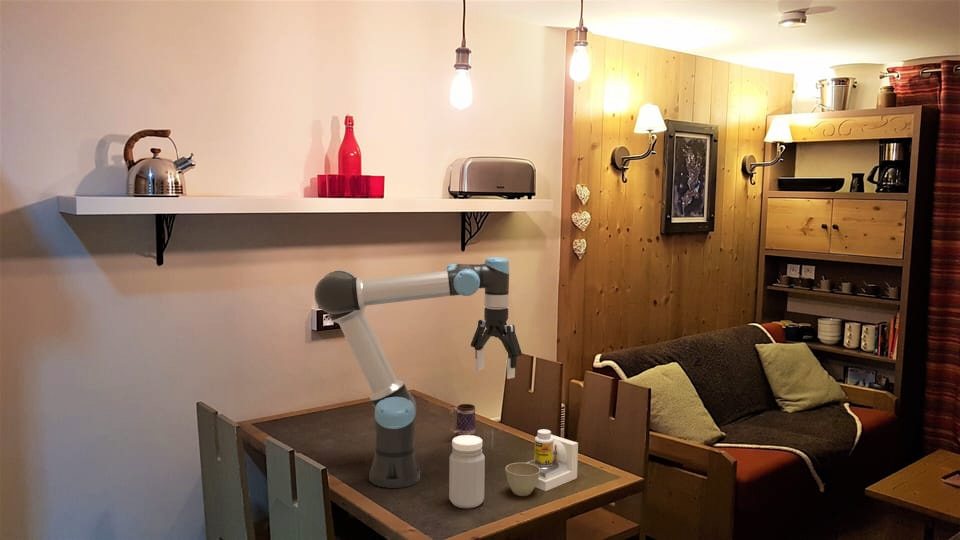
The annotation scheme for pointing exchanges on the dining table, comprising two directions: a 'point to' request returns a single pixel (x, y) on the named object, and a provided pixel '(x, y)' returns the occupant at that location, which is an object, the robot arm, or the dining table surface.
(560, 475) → the scale base
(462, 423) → the mug
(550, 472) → the pan
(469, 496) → the jar
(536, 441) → the supplement bottle
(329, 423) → the dining table surface
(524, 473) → the flower pot
